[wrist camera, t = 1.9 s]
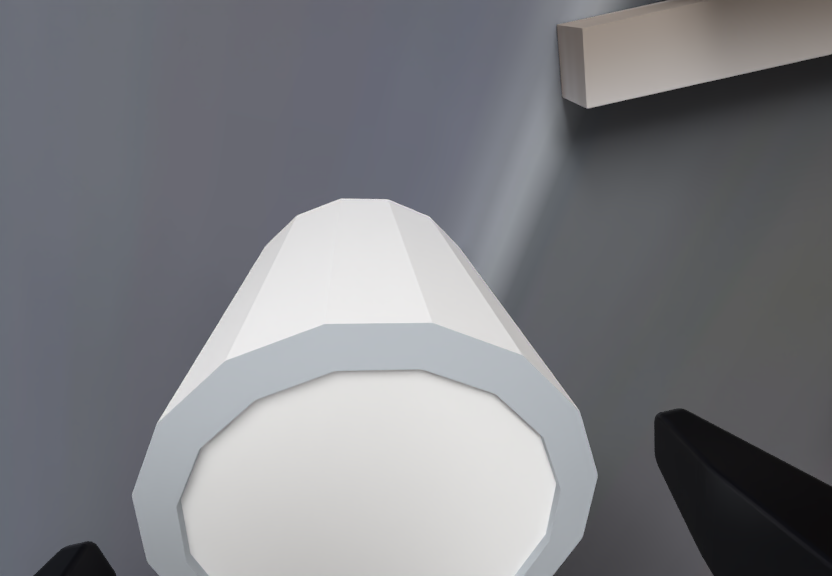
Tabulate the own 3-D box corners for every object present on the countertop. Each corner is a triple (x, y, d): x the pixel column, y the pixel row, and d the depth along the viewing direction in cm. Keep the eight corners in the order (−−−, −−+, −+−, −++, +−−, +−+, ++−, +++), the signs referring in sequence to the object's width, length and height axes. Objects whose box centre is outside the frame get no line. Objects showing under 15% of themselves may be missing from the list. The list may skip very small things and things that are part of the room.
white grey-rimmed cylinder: (455, 425, 17) (518, 674, 11) (211, 393, 16) (120, 658, 9) (531, 203, 14) (677, 367, 8) (241, 141, 13) (139, 279, 7)
